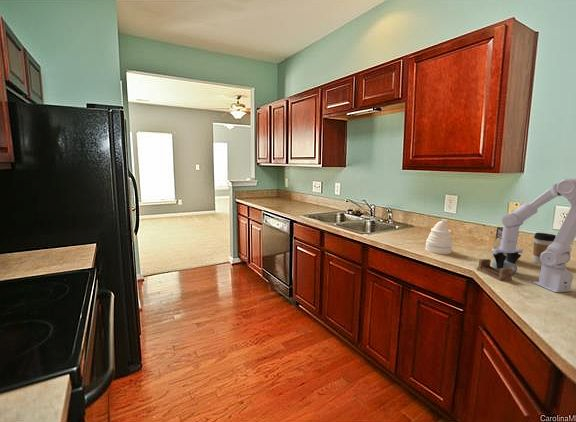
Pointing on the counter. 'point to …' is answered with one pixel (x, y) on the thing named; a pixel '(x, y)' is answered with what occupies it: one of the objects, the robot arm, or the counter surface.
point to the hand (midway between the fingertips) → (504, 268)
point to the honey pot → (439, 239)
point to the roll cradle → (494, 270)
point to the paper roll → (507, 266)
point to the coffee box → (499, 239)
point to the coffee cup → (541, 245)
